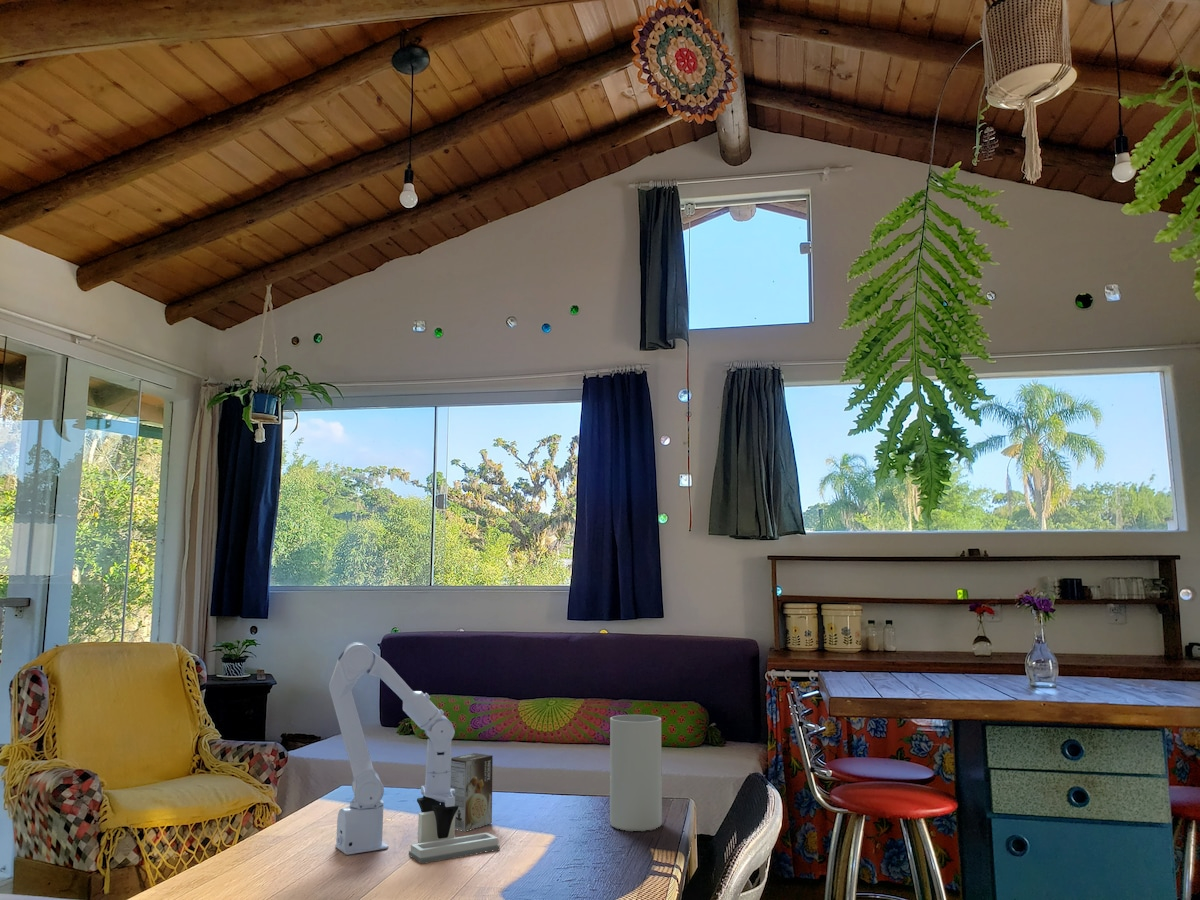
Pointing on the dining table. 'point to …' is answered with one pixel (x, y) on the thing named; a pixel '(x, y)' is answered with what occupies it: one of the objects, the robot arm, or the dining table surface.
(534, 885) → the dining table surface
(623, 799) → the cylinder vase
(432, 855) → the track base
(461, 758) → the coffee box
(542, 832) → the dining table surface
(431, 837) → the door panel
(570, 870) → the dining table surface
